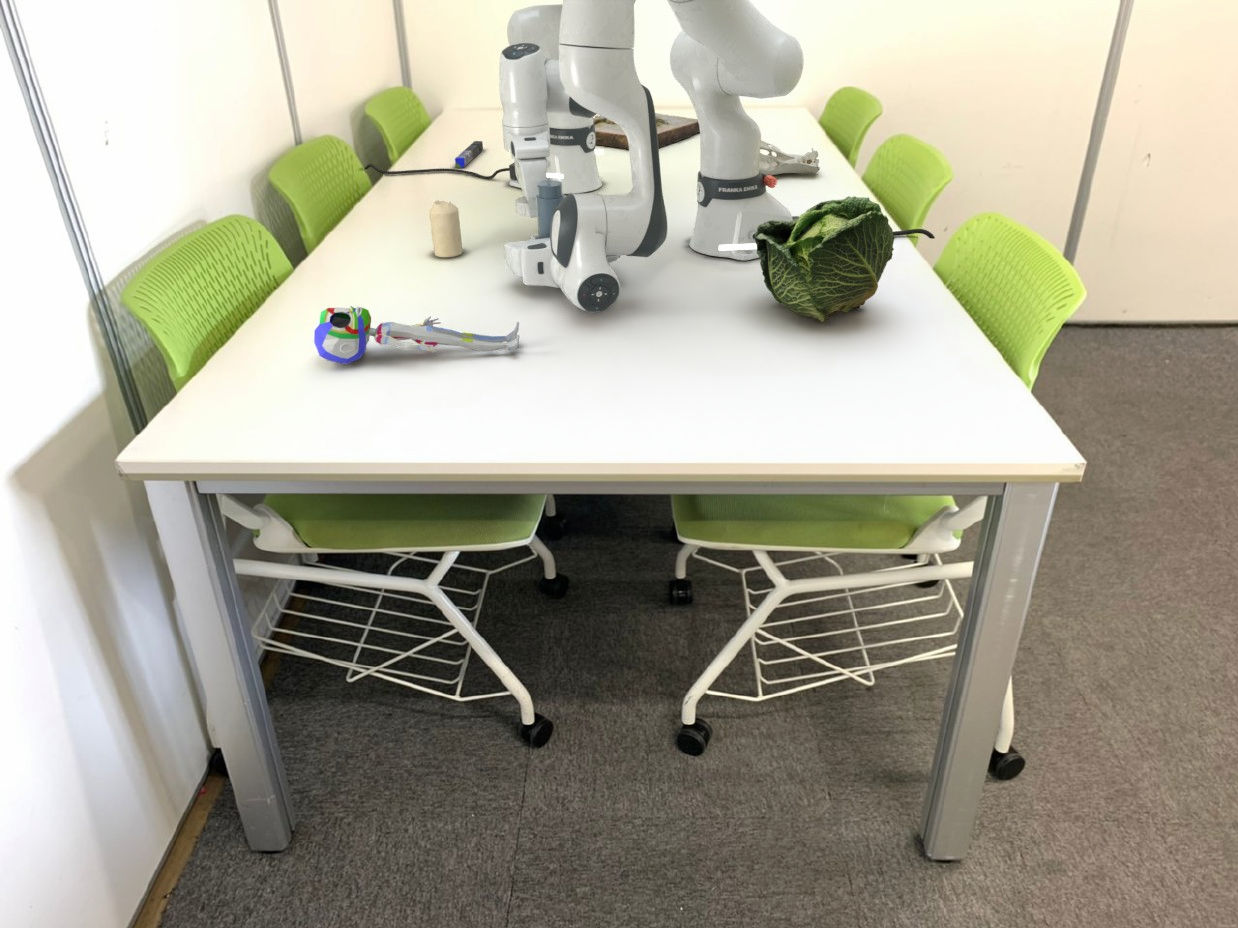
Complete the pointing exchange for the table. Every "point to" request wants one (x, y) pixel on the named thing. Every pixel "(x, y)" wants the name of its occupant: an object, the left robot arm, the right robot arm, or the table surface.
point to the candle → (445, 229)
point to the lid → (522, 206)
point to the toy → (392, 335)
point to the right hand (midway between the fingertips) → (551, 238)
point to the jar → (547, 204)
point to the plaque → (666, 130)
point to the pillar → (468, 154)
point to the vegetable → (826, 256)
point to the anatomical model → (787, 161)
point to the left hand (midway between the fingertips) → (531, 211)
